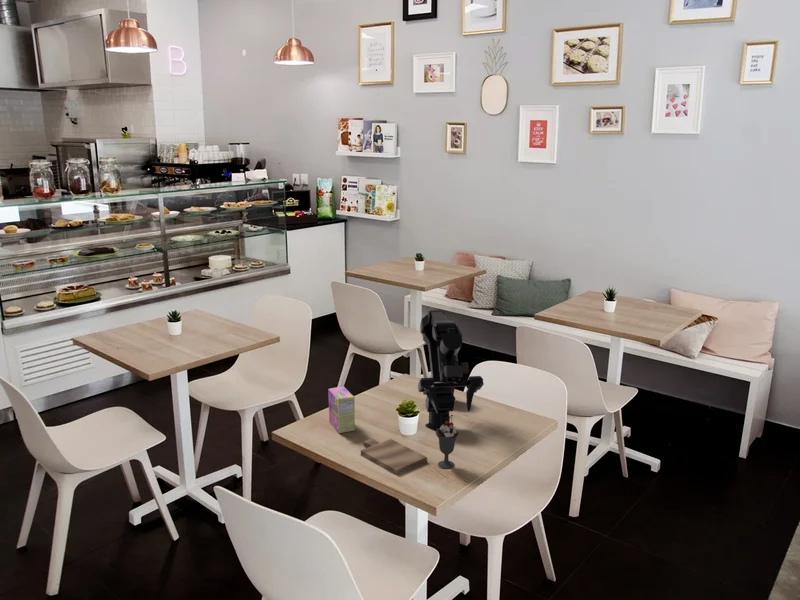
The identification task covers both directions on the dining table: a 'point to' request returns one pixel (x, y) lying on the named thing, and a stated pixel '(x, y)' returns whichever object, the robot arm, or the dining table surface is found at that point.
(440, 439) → the sundae
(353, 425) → the box
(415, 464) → the board
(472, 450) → the dining table surface
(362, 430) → the dining table surface
